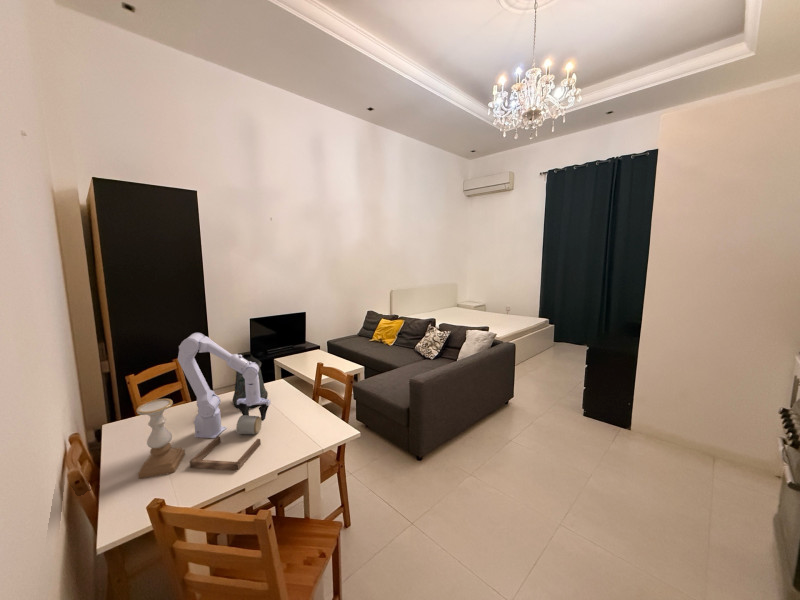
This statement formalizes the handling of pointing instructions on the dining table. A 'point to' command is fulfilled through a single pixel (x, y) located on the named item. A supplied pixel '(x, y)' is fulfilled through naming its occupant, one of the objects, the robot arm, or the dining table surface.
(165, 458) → the candle holder
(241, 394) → the beer stein
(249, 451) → the walnut dock
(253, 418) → the ceramic mug
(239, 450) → the dining table surface
